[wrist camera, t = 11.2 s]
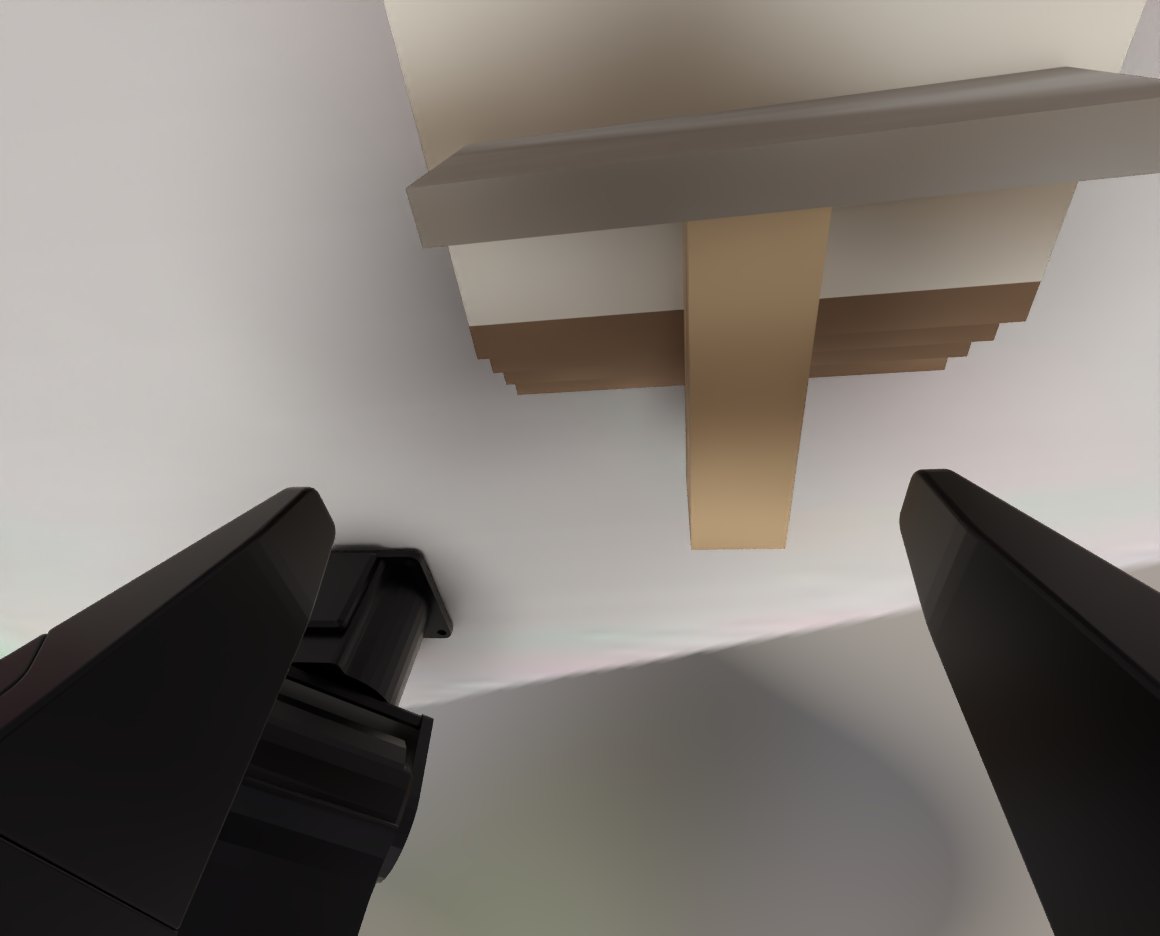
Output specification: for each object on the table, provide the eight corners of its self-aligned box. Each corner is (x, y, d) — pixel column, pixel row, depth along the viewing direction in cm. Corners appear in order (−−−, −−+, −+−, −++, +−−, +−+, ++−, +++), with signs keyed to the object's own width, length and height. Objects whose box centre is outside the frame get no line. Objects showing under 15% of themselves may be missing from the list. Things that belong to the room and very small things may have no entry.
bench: (932, 354, 19) (987, 422, 16) (522, 380, 21) (500, 444, 18) (1062, -111, 12) (1204, -152, 9) (440, -2, 14) (382, -5, 11)
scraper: (932, 472, 17) (995, 575, 14) (540, 485, 19) (518, 578, 16) (1065, 66, 11) (1231, 88, 8) (465, 144, 13) (405, 188, 10)
